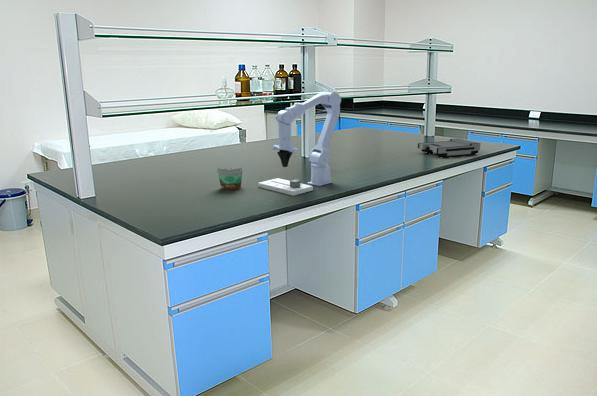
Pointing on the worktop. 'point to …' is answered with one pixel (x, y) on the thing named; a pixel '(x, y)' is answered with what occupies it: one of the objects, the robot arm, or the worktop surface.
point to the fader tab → (295, 183)
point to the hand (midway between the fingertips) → (285, 166)
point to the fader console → (284, 187)
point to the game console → (451, 148)
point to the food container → (230, 178)
